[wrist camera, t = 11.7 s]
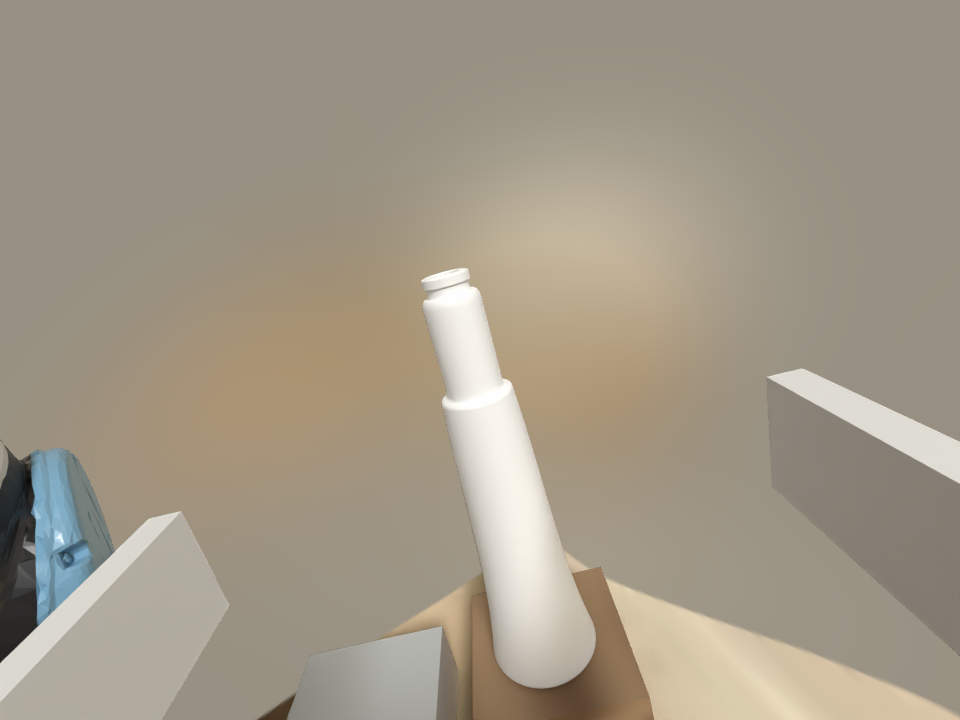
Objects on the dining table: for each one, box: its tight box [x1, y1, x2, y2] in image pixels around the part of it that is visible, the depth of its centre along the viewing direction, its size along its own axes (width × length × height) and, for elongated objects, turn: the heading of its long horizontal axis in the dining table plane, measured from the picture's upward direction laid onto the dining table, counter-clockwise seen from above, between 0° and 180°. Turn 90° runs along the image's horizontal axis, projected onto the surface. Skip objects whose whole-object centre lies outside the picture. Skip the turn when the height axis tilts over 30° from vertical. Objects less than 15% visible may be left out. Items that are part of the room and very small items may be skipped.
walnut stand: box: [472, 567, 654, 720], centre depth 28 cm, size 9×9×4 cm
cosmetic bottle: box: [421, 268, 596, 689], centre depth 24 cm, size 6×6×22 cm
